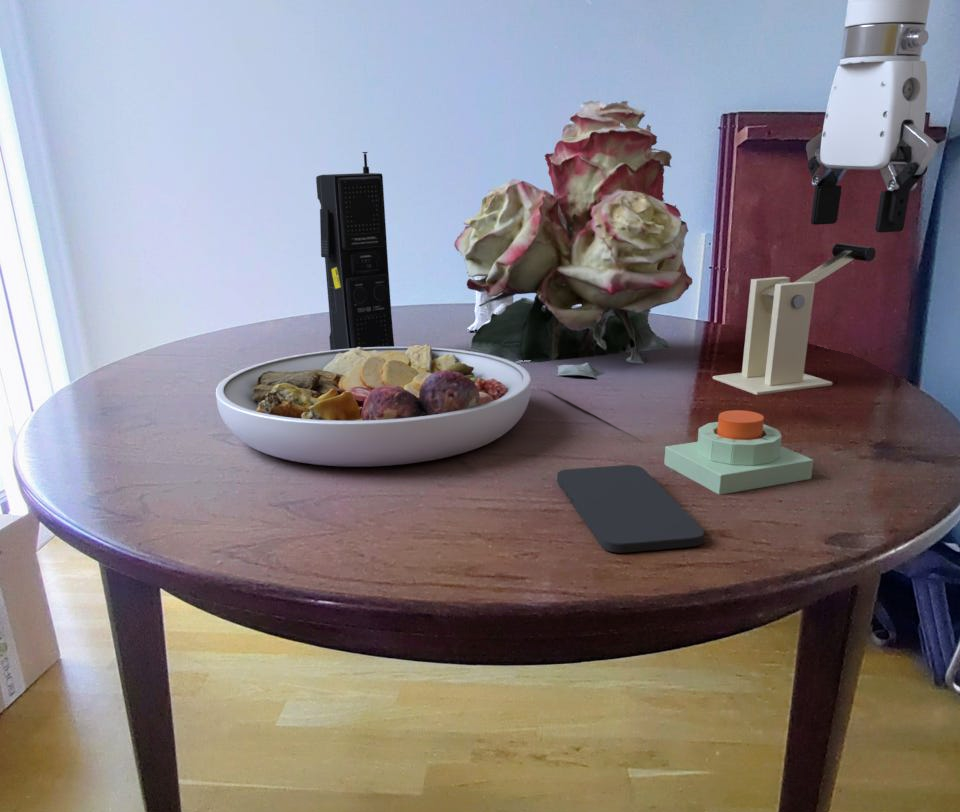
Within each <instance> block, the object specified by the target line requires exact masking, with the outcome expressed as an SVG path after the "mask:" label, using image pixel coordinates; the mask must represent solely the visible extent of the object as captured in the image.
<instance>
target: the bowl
mask: <svg viewBox="0 0 960 812" xmlns="http://www.w3.org/2000/svg"><path fill="white" fill-rule="evenodd" d="M531 391H532V377H531V374H530V373H529V371H528V370H527V369H525V368H524V367H523V366H522V365H521V364H516V363H514V362H512V361H509V360H506V359H503V358H500V357H496V356H493V355H488V354H483V353H478V352H472V351H470V350H465V349H457V348H456V349H455V348H444V347H431V346H430V345H429V344H426V343H425V344H424V345H420V344H413V345H410V346H394V347H366V348H362V347H357V348H350V349H338V350H330V349H329V350H321V351H314V352H307V353H301V354H295V355H289V356H284V357H279V358H275V359H270V360H268V361H267V360H266V361H264V362H260V363H256V364H253V365H251V366H248V367H245V368H243V369H240V370H237V371H235V372H234V373H232V374H230V375H228V376H227V377H225V378H224V379H222V380H221V381H220V382H219V383H218V384H217V386H216V389H215V397H216V398H215V399H216V405H217V409H218V412H219V414H220V417H221V419H222V422H223V423H224V424H225V426H226V427H227V429H228V430H229V431H230V432H231V433H232V434H233V435H234V436H235V437H236V438H237V439H239V441H241V442H243V444H245V445H247V446H249V447H250V448H252V449H255V450H256V451H259V452H261V453H264V454H266V455H269V456H272V457H275V458H277V459H282V460H287V461H291V462H296V463H302V464H309V465H316V466H328V467H347V468H349V467H350V468H354V467H355V468H356V467H357V468H360V467H361V468H363V467H365V468H367V467H368V468H369V467H387V466H398V465H399V466H400V465H410V464H417V463H424V462H430V461H436V460H440V459H445V458H449V457H453V456H457V455H460V454H464V453H467V452H470V451H473V450H476V449H479V448H481V447H484V446H486V445H488V444H490V443H491V442H494V441H496V440H497V439H499V438H501V437H502V436H503V435H505V434H507V433H508V432H509V431H510V430H511V429H512V428H513V427H514V426H515V425H517V423H518V422H519V421H520V420H521V418H522V417H523V415H524V414H525V412H526V410H527V408H528V405H529V401H530V399H531Z"/></svg>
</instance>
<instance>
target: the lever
mask: <svg viewBox="0 0 960 812" xmlns="http://www.w3.org/2000/svg"><path fill="white" fill-rule="evenodd" d="M831 253H832V256H833V257H831V258H830V259H828V260H826V262H823V263H822V264H821V265H819V266H817V267H816V268H813V270H811V271H810V272H808V273H806V274H805V275H803V276H802V277H800V278H799V279H797V280H795V281H794V282H806V281H810V282H815V285H816V284H817V283H819V282H821V281H822V280H824V279H826V278H827V277H828V276H830V275H831V274H833V273H835V272H836V271H838V270H840V269H841V268H843V267H844V266H846V265H847V264H849V263H850V262H852V261H854V260H856V261H864V262H872V261H873V260H874V259H875V257H876V254H877V252H876V249H875V248H874V247H871V246H865V245H856V244H849V243H848V244H847V243H841V242H838V243H835V244H834V245H833V247H832V250H831ZM782 283H793V282H791V281H789V282H787V281H780V282H779V283H777V284H782ZM774 290H775V285H774V286H772V287H771V288H769V289H767V290H766V291H764V292H763V293H762V297H763V301H764V304H765V308H766V311H767V313H771V314H772V308H773V299H774Z"/></svg>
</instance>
